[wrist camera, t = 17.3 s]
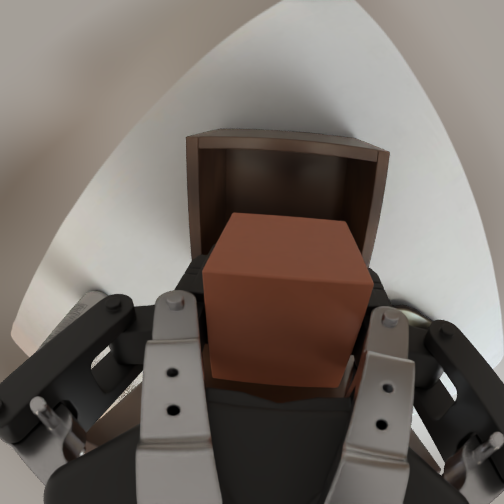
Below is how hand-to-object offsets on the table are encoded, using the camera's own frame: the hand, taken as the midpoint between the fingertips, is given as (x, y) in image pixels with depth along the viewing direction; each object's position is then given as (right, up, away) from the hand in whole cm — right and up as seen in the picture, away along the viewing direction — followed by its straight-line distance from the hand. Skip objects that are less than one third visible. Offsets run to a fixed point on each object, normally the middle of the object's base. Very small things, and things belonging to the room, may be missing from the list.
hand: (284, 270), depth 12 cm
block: (0, 0, 0) cm, 0 cm away
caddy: (+2, +5, +16) cm, 16 cm away
